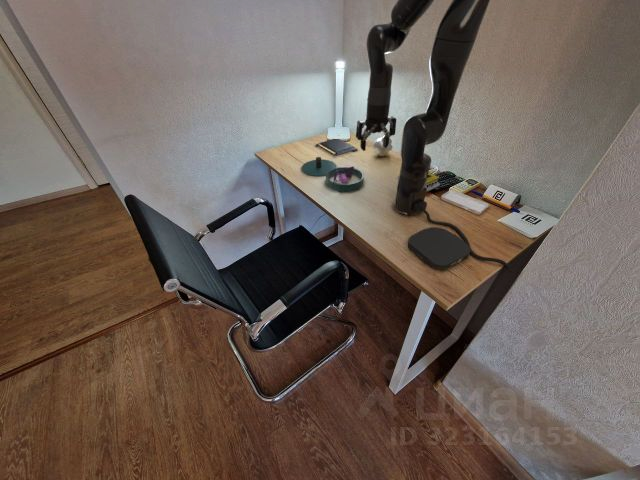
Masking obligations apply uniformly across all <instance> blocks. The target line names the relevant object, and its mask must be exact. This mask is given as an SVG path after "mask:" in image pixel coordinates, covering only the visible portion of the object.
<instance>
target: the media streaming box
mask: <svg viewBox="0 0 640 480" xmlns="http://www.w3.org/2000/svg"><path fill="white" fill-rule="evenodd" d="M407 247H408V249H409V251H411V252H412V253H413V254H414V255H415V256H417V257H418V258H419V259H420V260H421V261H423V263H425V264H426V265H427V266H428V267H430V268H432V269H435V270H439V271H445V270H447V269H450V268H453V267H454V266H455V265H457V264H459V263H461V262H464V261H465V260H466V259H467V258H468V257H469V255H470V248H471V247H470V248H469V246H468V245H467V244H466V243H465V241H464V240H463V238H461V237H459V236H458V235H456V234H455V233H453V232H451V231H449V230H447V229H446V228H442V227H438V226H431V227H427V228H424V229H422V230H420V231H418V232H416V233H414V234H413V235H411V236H410V237H409V239H408V243H407Z"/></svg>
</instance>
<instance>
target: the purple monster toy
mask: <svg viewBox="0 0 640 480" xmlns="http://www.w3.org/2000/svg"><path fill="white" fill-rule="evenodd" d="M348 167H349V168H345V169H342V170H338V171H335V175H334V176H333V180H332V182H334V183H337V182H341V183H342V184H350V182H349V179H351V178H352V176H353V174H352V173H353V169H354V168H355V166H348ZM344 170H347V171H346V174H338V172H339V173H340V172H341V171H342V172H343V171H344ZM337 178H338V179H339V180H337Z"/></svg>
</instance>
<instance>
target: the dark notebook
mask: <svg viewBox="0 0 640 480" xmlns="http://www.w3.org/2000/svg"><path fill="white" fill-rule="evenodd" d="M315 146H316V147H317V148H320V149H322V150H324V151H325V152H327V153H328V154H331V155H332V156H333V157H338V156H341V155H345V154H348V153H353V152H357V151H358V148H357V147H356V146H353V145H351V144H350V143H348V142H345V141H343V140H341V139H339V138H338V139H335V138H332V139H327V140H325V141H322V142H318V143H316V144H315Z"/></svg>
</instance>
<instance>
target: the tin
mask: <svg viewBox="0 0 640 480" xmlns="http://www.w3.org/2000/svg"><path fill="white" fill-rule="evenodd" d="M349 167H350V166H339V167H337V168H335V169H332V170H330V171H329V172H328V173H327V174H326V176H325V184H326V187H328V188H330V189H331V190H333V191H337V192H338V193H342V194H343V193H344V194H345V193H352V192H356V191H358V190H361V188H362V187H363V186H364V178H365V174H364V172H363V171H362V170H360V169H358V168H356V167H354V169H353V173H352V176H355V177H358V178H359V180H357V181H355V182H352V183H349V184H348V183H337V182H333V180H331V178H333V177H334V176H335V171H338V170H342V169H345V168H349ZM346 171H347V170H344V171H343V172H342V171H341V172H340V173H339V172H338V174H337V175H340V174H345V175H346Z"/></svg>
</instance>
